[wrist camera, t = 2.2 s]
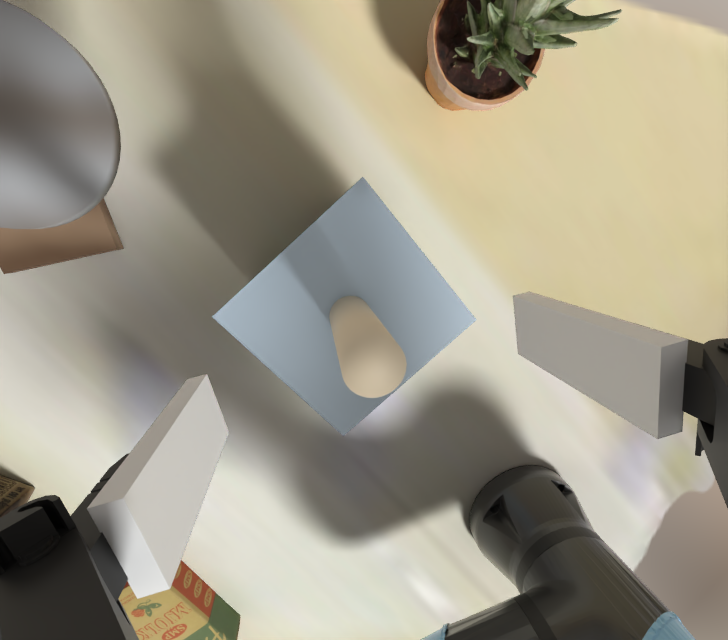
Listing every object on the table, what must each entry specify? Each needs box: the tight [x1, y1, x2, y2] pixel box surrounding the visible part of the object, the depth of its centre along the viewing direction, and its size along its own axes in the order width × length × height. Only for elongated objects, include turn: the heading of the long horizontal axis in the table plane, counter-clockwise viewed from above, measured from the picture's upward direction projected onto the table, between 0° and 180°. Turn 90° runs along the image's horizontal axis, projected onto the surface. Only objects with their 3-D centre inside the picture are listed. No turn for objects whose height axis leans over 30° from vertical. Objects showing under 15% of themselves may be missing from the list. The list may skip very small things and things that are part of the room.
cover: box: [212, 177, 476, 436], centre depth 26 cm, size 12×13×24 cm
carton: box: [118, 561, 240, 640], centre depth 43 cm, size 8×16×4 cm, turn 30°
